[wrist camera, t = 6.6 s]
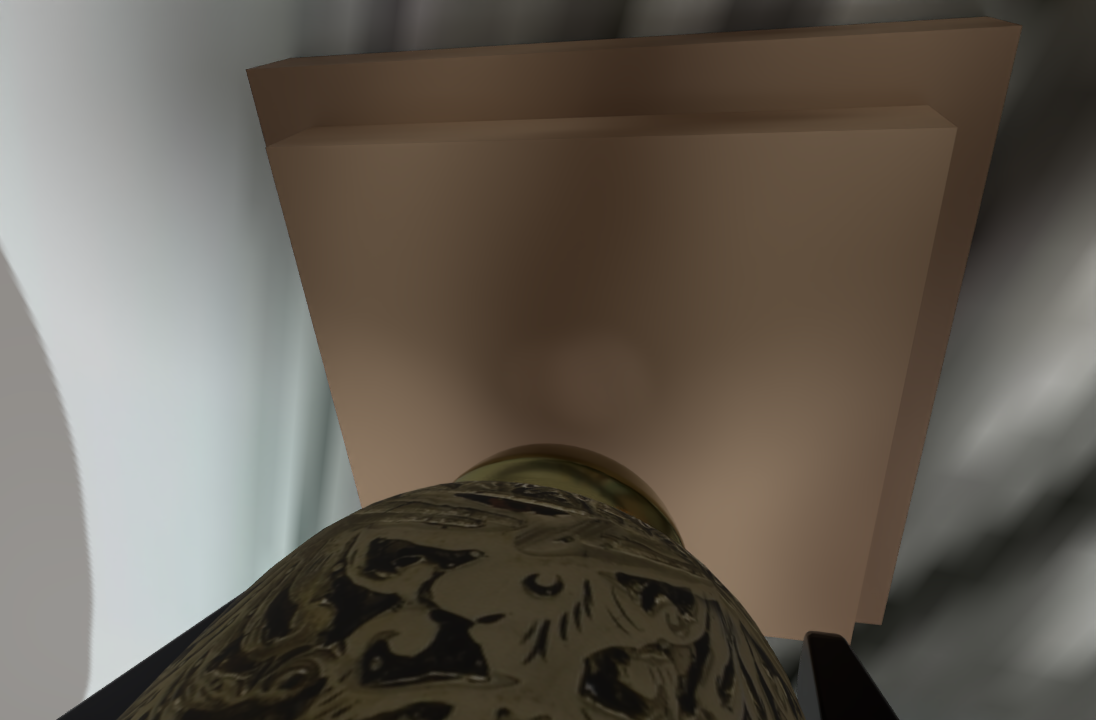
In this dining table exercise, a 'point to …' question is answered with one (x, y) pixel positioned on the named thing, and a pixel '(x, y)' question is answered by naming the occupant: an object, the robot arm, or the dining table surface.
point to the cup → (486, 613)
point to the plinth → (654, 272)
